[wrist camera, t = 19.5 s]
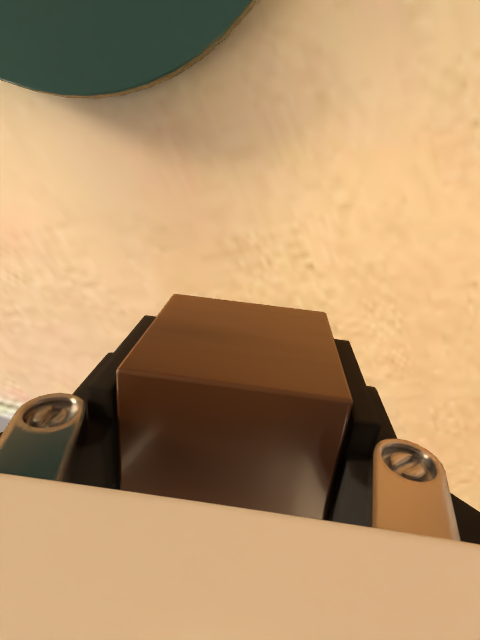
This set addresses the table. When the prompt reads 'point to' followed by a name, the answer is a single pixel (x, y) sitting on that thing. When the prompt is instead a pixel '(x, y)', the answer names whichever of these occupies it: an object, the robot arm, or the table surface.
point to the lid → (108, 42)
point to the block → (233, 407)
